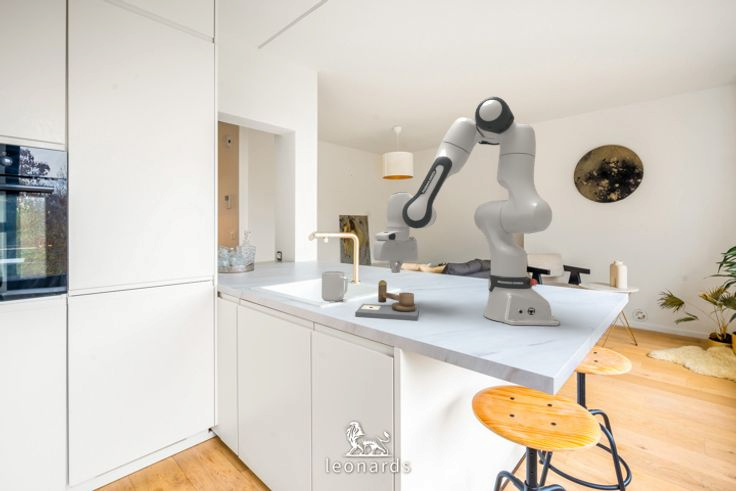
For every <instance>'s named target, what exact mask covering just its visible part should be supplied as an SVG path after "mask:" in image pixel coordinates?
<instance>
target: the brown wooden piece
mask: <svg viewBox="0 0 736 491" xmlns="http://www.w3.org/2000/svg"><path fill="white" fill-rule="evenodd" d="M387 285H388V284H387V281H386V280H385V279H383V280H381V279H380V281H378V293H377V295H378V296H377V299H378V300H377V302H378V303H383V304H384V303H387V299H389V300H393V301H397V302H393V303H391V305H392V309H394V310H399V311H412V310H415V308H416V307H417V306H416V304H415V303H414V302H415V294H414V293H413V292H400V293H399V294H396V293H391V292H388V286H387Z"/></svg>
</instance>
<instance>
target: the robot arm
mask: <svg viewBox="0 0 736 491" xmlns="http://www.w3.org/2000/svg"><path fill="white" fill-rule="evenodd" d="M536 142H537V140H536V133H535V129H534V127H532V126H531V125H530V124H527V123H518V122H515V115H514V114H513V112H512V110H511V108H510V106H509V105H508V104H507V102H506V101H505V100H504V99H503V98H501V97H498V96H490V97H486V98H485V99H483V100H482V101H480V103H479V104H478V105H477V107H476V110H475V112H474V118H470V117H466V116H465V117H464V116H463V117H458V118H457V119H455V121H454V122H453V123H452V124H451V125H450V127H449V129H448V130H447V132H446V133H445V135H444V136H443V139H442V140H441V142H440V144H439V146H438V149H437V151H436V153H435V156H434V159H433V162H432V164H431V166H430V169H429V170H428V173H427V174H426V176H425V177H424V179H423V182H422V183H421V185H420V187H419V189H418V191H417V192H416V193H415V194H414V195H411V193H409V192H406V191H404V192H402V191H400V192H395V193H392V194H391V195H390V197H389V198H388V203H387V209H386V218H387V224H386V228H385V230H384V231H381V232H378V233H376V234H375V235H374V237H375V238H374V239H375V240H376V241H375V242H374V244H373V245H374V246H373V252H372V254H373V259H374V260H375V261H378V262H382V261H383V262H388V261H389V266H390V268H391V269H390V272H391V274H400V273H401V268H402V266H403V264H404V262H405V261H410V262H411V261H413V262H414V261H417V259H418V258H419V254H418V253H419V250H418V249H419V248H418V244H417V239H416V238H415V237H414V236H410V233H411V232H410V231H411V228H412V229H427V228H429V227H431V226H432V225H433V224H434V223H435V221H436V219H437V211H436V209H435V207H433V205H434V202H435V200H436V199H437V196H438V194H439V193H440V191H441V188H442V187H443V186H444V184H445V182H446V181H447V179H449V178H450V177H451V176H453V175H455V174H458V173H460V171H461V170H462V168H463V167H464V166H465V164H466V163H467V161H468V159H469V158H470V156H471V154H472V152H473V150H474V148H475V146H476V145H477V143H478V144H480V145H488V146H499V154H498V164H497V172H496V181H497V183H498V184H499V186H501V187H503V188H504V189H505V190H507V191H508V192H507V193H508V199H505V200H500V199H499V200H491V201H488V202H484V203H482V204H479V205H478V206H477V208H476V209H475V212H474V214H473V215H474V216H473V221H474V224H475V225H476V228H478V229H479V230H480V231H481V233H483V235H484V236H485V239H486V240H487V243H488V247H489V251H490V273H489V275H488V282H487V284H488V286H487V288H488V291H489V292H488V296H487V297H488V298H487V303H486V307H485V310H484V313H483V316H484V317H485V318H487V319H489V320H492V321H497V322H502V323H504V324H507V325H511V326H512V325H513V326H559V325H560V319H559V318H558V317H556V316H555V315H553V313H552V307H551V305H550V303H549V301H548V300H547V299H546V298H545V297H543V296H542V295H541V294H540V293H539V292H537V291H536V290H535V289H533V286H534V287H536V286H537V285H538V283H539V282H538V281H537V279H535V278H530V277H529V276H528V274H527V271H528V269H527V268H528V254H527V251H526V250H525V248H524V247H522V246H520V245H518V244H517V242H516V240H515V238H514V234H528V235H529V234H534V233H535V234H536V233H539V232H543V231H546V230H547V229H548V228H549V226H550V225H551V223H552V221H553V220H552V219H553V211H552V210H553V209H552V208H551V206H550V204H549V203H548V202H547V201H546V200H544V199H543V198H542V197H541V195H540V194H539V193H538V191H537V189H536V186H535V180H534V178H535V163H536V152H537V148H536V146H537V145H536ZM558 324H559V325H558Z"/></svg>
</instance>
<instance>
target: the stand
mask: <svg viewBox="0 0 736 491" xmlns="http://www.w3.org/2000/svg"><path fill="white" fill-rule="evenodd" d="M419 308H420V307H419V306H416V308H415V310H412V311H399V310H394V309H392V304H391V305H390V304H377V303H375V304H373V303H362V304H361V305H360V306H359V307H358V309H357V310H356V311H355V314H354V315H355V316H354V317H358V318H373V319H386V320H403V321H418V318H419Z"/></svg>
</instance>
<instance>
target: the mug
mask: <svg viewBox="0 0 736 491" xmlns="http://www.w3.org/2000/svg"><path fill="white" fill-rule="evenodd" d="M348 285H349V278H348V277H346V276H345V272H344V271H341V270H324V271H322V272H321V299H322V300H323V301H324V302H331V303H334V302H340V301H342V300H343V299H344V298H345V295H346V293H347V292H348Z"/></svg>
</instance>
